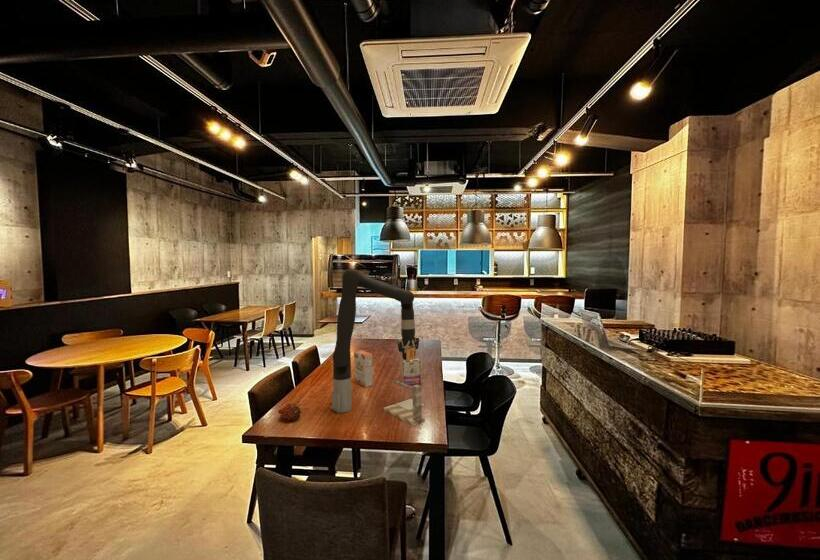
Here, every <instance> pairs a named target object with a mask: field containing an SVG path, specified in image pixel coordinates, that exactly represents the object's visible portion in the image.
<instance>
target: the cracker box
mask: <svg viewBox="0 0 820 560" xmlns="http://www.w3.org/2000/svg"><path fill="white" fill-rule="evenodd" d="M353 355H354V356H353V357H354V358H353V359H354V383H356V382H357V383H356V384H358V385H360V386H361V385H362V387H363V388H365V387H366V388H370V387H373V385H374V383H373V382H374V381H373V378H374V377H373V373H374V372H373V354H372V353H371V352H367V351H365V350H363V349H359V350H355V351H353ZM369 386H370V387H369Z"/></svg>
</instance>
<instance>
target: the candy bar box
mask: <svg viewBox="0 0 820 560" xmlns="http://www.w3.org/2000/svg"><path fill="white" fill-rule="evenodd" d="M401 367H402V368H401V371H402V373H401V374H402V383H404V384H407V385H409V386H412V387H413V386H414V385H420V386H422V385H421V384H422V383H421V382H422V381H421V380H422V379H421V360H420V359H419V358H415V359H413V360H410V361H404V359H403V358H402V359H401Z"/></svg>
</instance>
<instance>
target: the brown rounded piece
mask: <svg viewBox="0 0 820 560" xmlns="http://www.w3.org/2000/svg"><path fill="white" fill-rule="evenodd" d="M284 406H285V407H282V408H281V409H279V410H278V412H277V413H278V414H280V415H279V419H285V422H289V421H295V420H296V419H298V418H300V417H301V413H302V411H301V408H300V406H298V405H297V404H295V403H287V404H286V405H284Z"/></svg>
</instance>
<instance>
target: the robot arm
mask: <svg viewBox="0 0 820 560" xmlns="http://www.w3.org/2000/svg"><path fill="white" fill-rule="evenodd" d="M341 281H342V282H341V283H342V284H341V296H340V297H341V298H340V301H339V305H338V312H337V320H336V341H335V347H334V350H333V354H332V363H333V364H332V365H333V370H332V371H333V372H332V376H333V378H332V380H333V391H332V392H331V403H332V405H331V406H332V411H334V412H335V413H336V414H341V413H347V412H350V411H351V410H352V365H351V364H352V363H351V362H352V361H351V359H352V358H351V341H352V336H353V333H354V329H355V323H356V316H357V315H356V314H357V299H356V298H357V293H358V292H357V291H358V288H362V289H363V288H364V289H366V290H368V291H371V292H374V293H376V294H377V295H381V296H383V297H386V298H388V299H393V300H395V301H397V302H399V303H400V308H401V309H400V311H401V312H400V316H401V317H400V319H401V321H400V333H401V340H397V341H396V343H397V344H396V345H397V349H398V352H399V353H402V354H401V357H402V360H403V359H404V360H406V349H408V347H413V348H414V356H415V357H416V350H418V349H419V346H420V345H419V344H420V338H419V337H415V336H416V322H415V310H414V300H415V295H414V293H413V292H412V291H410V290H408V289H407V290H406V289H403V288H400V287H398V286H395V285H393V284H391V283H388V282H384V281H382V280H378V279H375V278H372V277H369V276H367V275H365V274H362V273H361V272H359V271H358V270H357V269H356V268H354V269H353V268H348V269H346V270H344V272H343V273H342V276H341Z"/></svg>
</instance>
